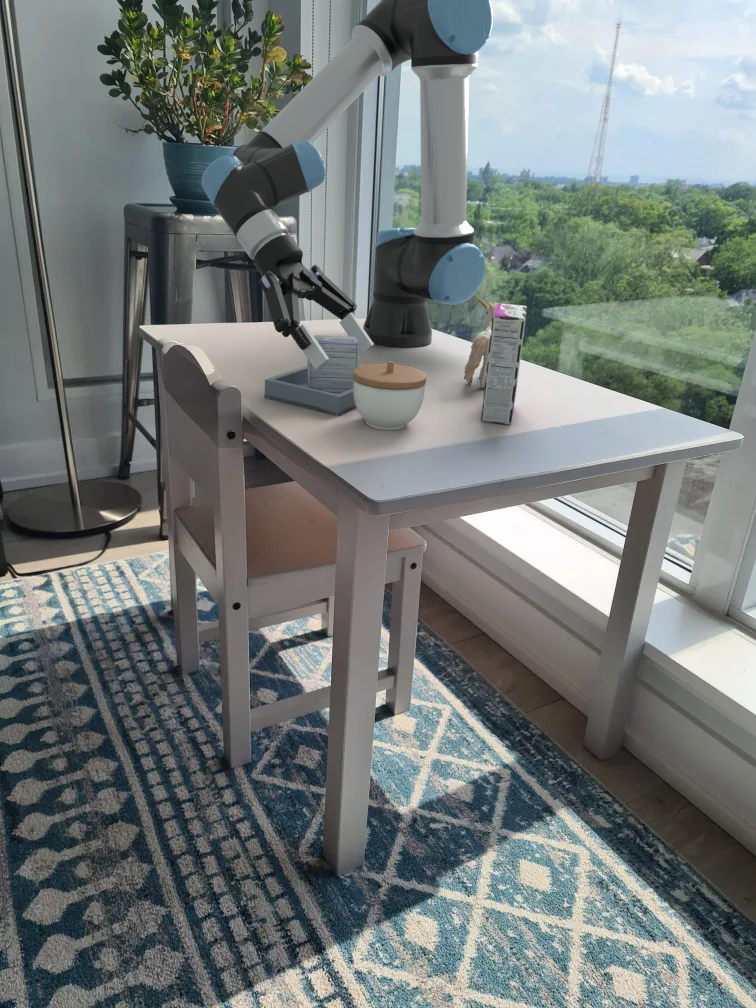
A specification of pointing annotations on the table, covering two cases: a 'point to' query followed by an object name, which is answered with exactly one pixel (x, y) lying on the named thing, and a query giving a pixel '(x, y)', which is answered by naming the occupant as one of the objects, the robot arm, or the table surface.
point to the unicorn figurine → (480, 347)
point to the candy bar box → (503, 363)
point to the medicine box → (335, 364)
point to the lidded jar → (388, 394)
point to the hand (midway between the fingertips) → (346, 356)
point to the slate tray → (307, 393)
